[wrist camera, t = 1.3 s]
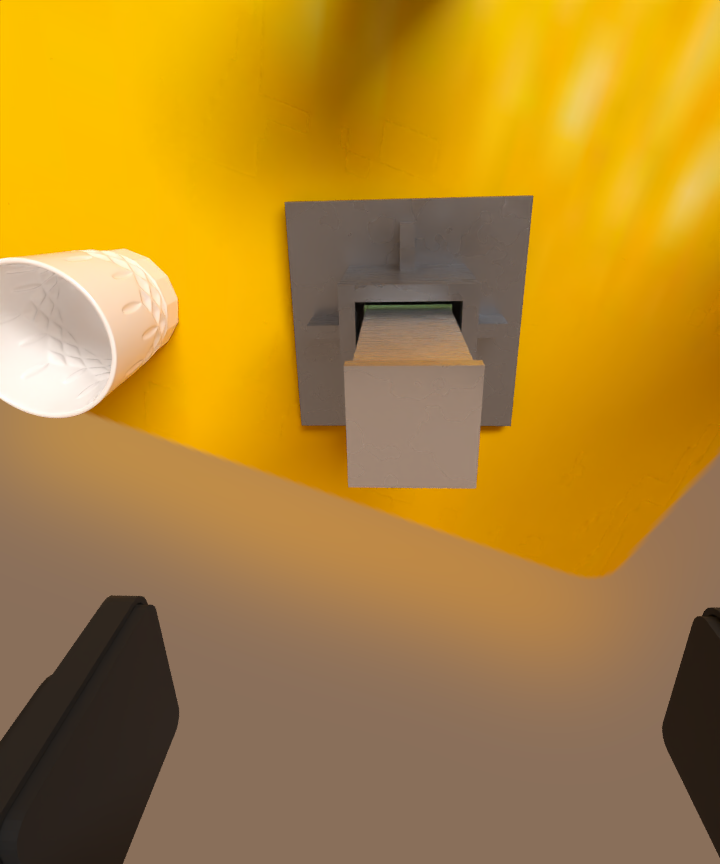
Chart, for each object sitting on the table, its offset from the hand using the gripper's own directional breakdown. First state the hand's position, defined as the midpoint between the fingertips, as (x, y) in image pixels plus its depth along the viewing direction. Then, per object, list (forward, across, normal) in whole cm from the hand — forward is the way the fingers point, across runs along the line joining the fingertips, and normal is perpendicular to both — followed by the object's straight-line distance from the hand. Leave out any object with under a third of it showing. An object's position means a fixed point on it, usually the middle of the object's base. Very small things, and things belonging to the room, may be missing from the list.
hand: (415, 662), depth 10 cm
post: (+26, 0, 0) cm, 26 cm away
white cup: (+28, +18, -1) cm, 33 cm away
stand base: (+27, 0, 0) cm, 27 cm away
